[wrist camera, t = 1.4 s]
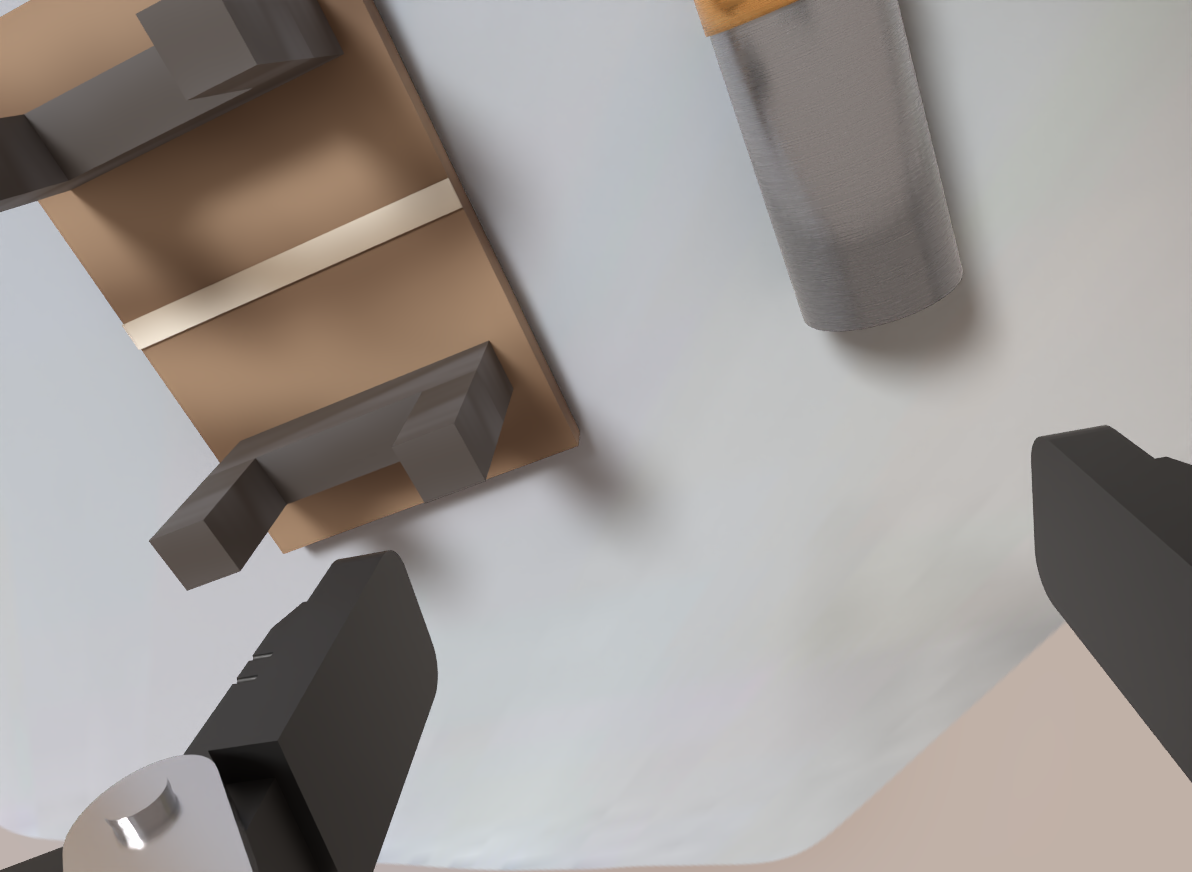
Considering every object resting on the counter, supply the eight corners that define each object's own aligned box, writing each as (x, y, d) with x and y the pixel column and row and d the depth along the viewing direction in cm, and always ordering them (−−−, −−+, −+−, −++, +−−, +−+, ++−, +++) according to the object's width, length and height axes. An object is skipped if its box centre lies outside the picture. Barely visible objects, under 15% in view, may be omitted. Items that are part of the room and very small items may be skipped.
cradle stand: (-38, 52, 27) (-274, 64, 20) (305, -140, 25) (174, -205, 17) (293, 537, 35) (209, 670, 28) (579, 431, 33) (567, 548, 25)
